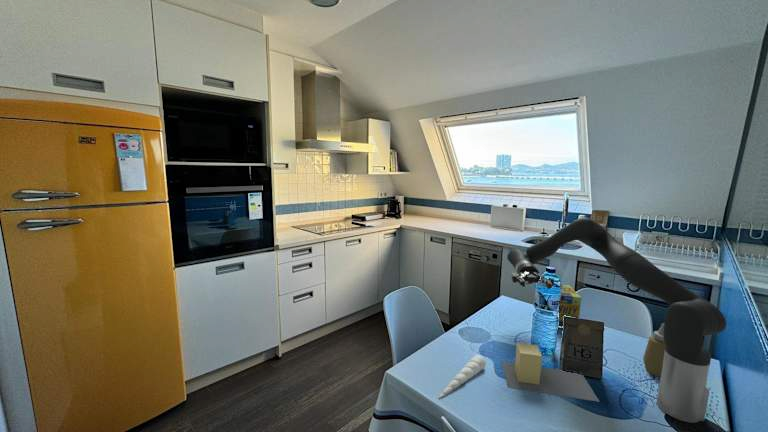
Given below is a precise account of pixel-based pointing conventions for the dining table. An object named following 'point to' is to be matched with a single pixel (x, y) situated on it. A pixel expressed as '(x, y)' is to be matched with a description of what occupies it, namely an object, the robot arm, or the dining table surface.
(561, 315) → the protein box
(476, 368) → the unicorn horn
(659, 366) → the squeeze bottle
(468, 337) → the dining table surface
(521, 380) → the tall cream block
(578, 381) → the mat
